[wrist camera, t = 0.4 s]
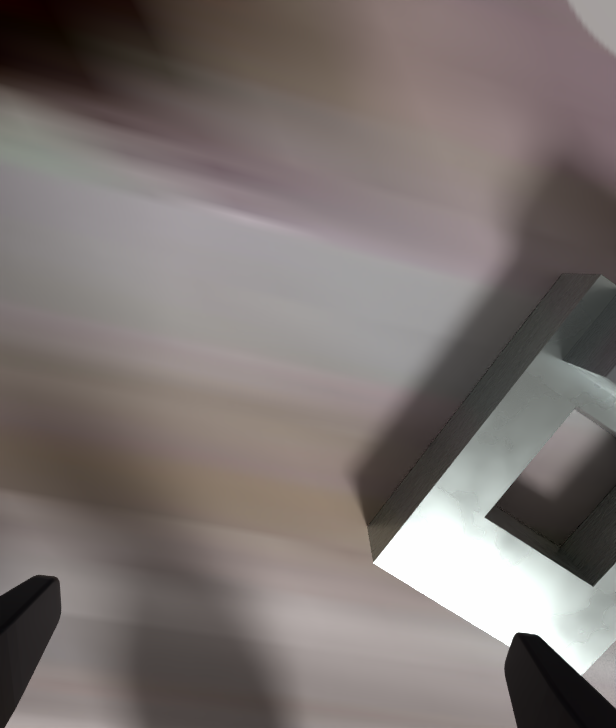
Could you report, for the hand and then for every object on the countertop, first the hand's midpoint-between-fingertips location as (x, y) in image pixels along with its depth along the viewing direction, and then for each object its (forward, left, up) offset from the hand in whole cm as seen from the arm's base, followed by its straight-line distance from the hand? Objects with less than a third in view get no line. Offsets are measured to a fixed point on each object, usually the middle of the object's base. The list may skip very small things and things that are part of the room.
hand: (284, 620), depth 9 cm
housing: (-4, -13, -14) cm, 19 cm away
